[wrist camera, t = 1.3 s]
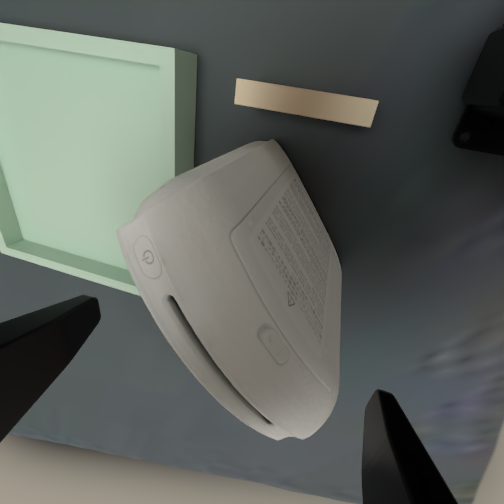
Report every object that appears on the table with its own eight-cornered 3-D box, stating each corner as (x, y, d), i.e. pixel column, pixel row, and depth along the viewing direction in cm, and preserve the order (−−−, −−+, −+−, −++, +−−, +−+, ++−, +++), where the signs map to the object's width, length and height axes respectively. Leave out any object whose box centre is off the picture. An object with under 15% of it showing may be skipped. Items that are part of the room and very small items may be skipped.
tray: (197, 54, 16) (174, 48, 14) (189, 287, 24) (174, 306, 22) (-36, 20, 18) (-86, 10, 16) (28, 240, 26) (1, 253, 24)
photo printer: (217, 160, 18) (46, 250, 8) (275, 123, 16) (153, 174, 6) (293, 288, 21) (243, 478, 11) (350, 269, 19) (359, 479, 9)
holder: (372, 99, 15) (378, 100, 12) (305, 313, 22) (299, 347, 19) (257, 81, 16) (236, 78, 13) (230, 291, 23) (214, 321, 20)
